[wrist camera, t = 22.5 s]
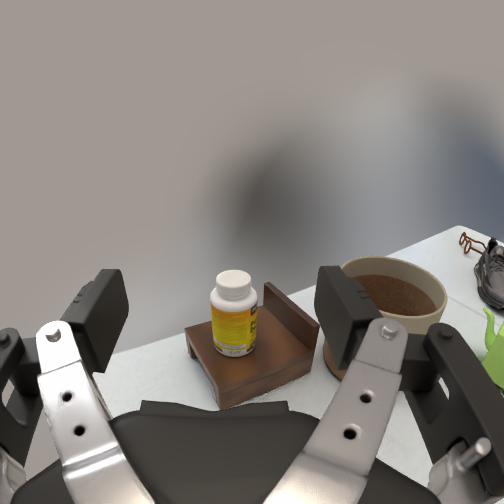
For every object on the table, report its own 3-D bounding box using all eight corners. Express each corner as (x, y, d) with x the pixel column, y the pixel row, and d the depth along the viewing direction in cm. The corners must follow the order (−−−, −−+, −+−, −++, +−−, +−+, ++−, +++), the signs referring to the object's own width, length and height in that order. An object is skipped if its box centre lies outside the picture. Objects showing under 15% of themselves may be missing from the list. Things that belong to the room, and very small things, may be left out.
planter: (389, 320, 48) (409, 254, 43) (431, 380, 34) (468, 307, 28) (310, 330, 47) (322, 257, 41) (339, 405, 33) (368, 326, 27)
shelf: (220, 410, 32) (215, 364, 28) (188, 352, 42) (180, 305, 38) (310, 372, 38) (320, 324, 35) (267, 327, 48) (269, 281, 44)
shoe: (483, 313, 47) (502, 265, 42) (468, 265, 69) (479, 228, 64) (515, 321, 43) (535, 276, 38) (494, 272, 64) (506, 236, 59)
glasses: (458, 242, 85) (461, 229, 83) (486, 250, 80) (489, 237, 77) (465, 256, 74) (469, 242, 72) (495, 264, 69) (500, 250, 67)
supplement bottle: (256, 359, 34) (258, 291, 30) (212, 358, 34) (205, 290, 30) (255, 330, 39) (257, 266, 35) (215, 330, 39) (211, 265, 35)
